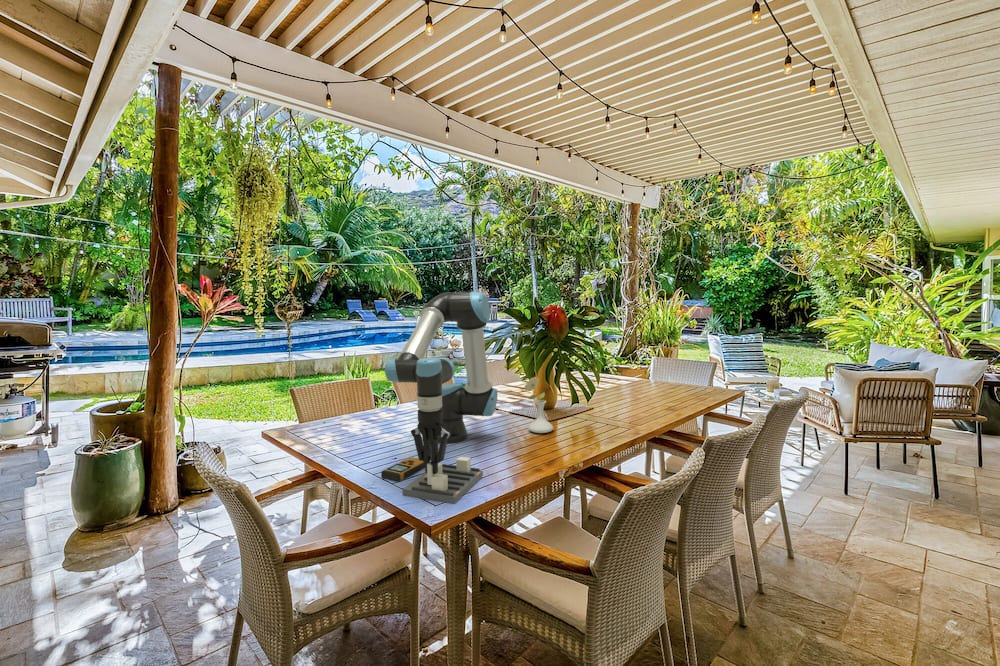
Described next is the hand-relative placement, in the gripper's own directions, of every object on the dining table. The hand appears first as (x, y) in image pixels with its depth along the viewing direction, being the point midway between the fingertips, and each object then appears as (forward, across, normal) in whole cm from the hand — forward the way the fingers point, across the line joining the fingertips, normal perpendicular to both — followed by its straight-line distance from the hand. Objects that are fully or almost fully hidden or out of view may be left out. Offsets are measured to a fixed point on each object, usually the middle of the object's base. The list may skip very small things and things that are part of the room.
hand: (431, 483), depth 149 cm
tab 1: (+2, -3, +8) cm, 9 cm away
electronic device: (+5, -18, +14) cm, 24 cm away
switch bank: (+4, 0, +8) cm, 9 cm away
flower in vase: (+4, +13, +75) cm, 76 cm away
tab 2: (+2, +3, 0) cm, 3 cm away
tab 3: (+2, +3, +16) cm, 17 cm away
